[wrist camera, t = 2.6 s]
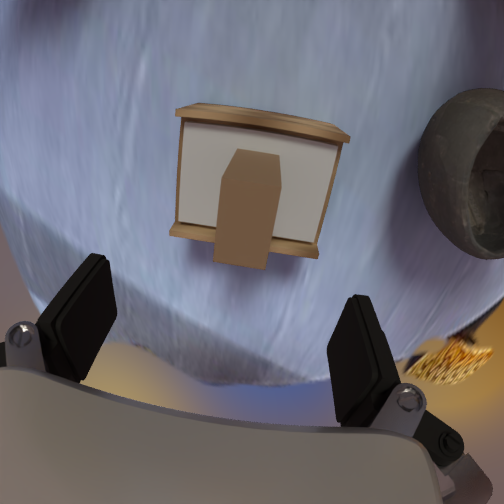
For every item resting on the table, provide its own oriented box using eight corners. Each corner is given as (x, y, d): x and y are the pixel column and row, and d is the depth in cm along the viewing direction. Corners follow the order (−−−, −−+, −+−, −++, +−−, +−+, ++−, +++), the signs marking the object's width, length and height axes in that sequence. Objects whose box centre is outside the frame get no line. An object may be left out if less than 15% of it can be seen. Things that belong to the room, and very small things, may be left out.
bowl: (372, 117, 24) (420, 138, 15) (482, 66, 19) (548, 75, 10) (423, 241, 30) (464, 298, 21) (515, 186, 25) (567, 225, 16)
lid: (336, 144, 21) (365, 175, 14) (312, 237, 25) (324, 299, 18) (187, 120, 20) (146, 140, 14) (181, 216, 25) (148, 271, 18)
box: (332, 124, 24) (350, 136, 19) (309, 222, 30) (317, 259, 24) (198, 102, 24) (175, 109, 18) (189, 203, 29) (169, 235, 24)
